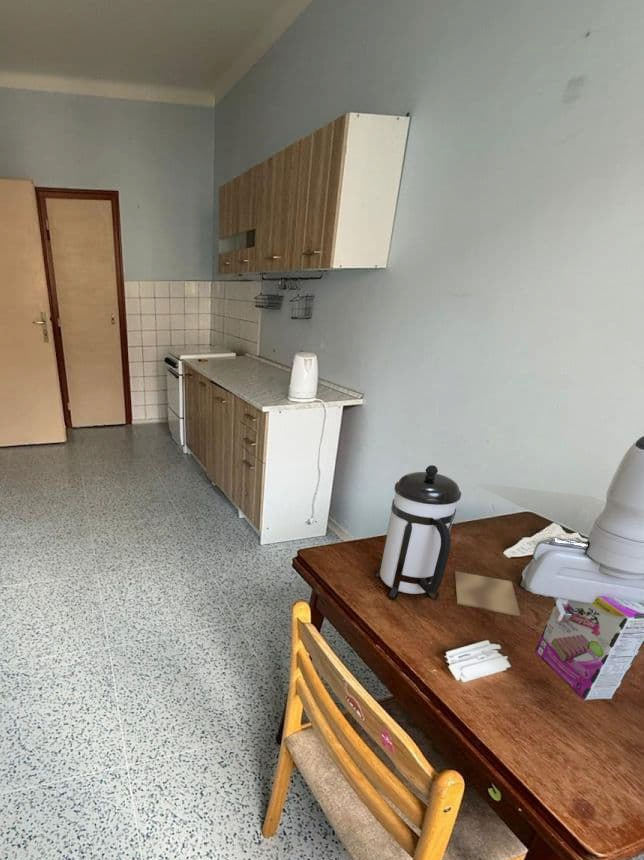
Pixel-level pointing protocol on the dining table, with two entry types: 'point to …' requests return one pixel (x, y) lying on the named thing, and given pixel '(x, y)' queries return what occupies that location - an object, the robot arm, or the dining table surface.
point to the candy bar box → (593, 644)
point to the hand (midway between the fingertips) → (591, 625)
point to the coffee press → (419, 533)
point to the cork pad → (486, 593)
